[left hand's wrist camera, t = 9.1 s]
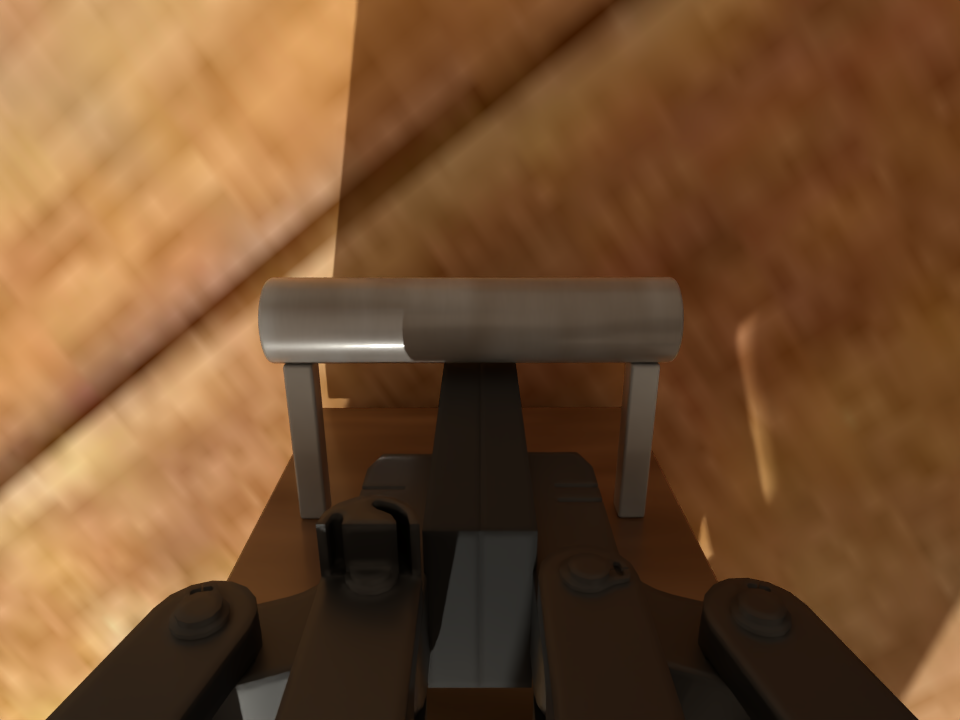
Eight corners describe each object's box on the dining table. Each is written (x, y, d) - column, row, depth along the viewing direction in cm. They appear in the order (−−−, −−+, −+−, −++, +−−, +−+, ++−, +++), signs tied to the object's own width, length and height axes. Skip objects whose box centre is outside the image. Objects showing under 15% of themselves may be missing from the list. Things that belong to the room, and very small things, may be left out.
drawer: (298, 228, 18) (149, 335, 10) (646, 228, 18) (789, 334, 10) (355, 805, 26) (301, 1127, 18) (594, 804, 26) (648, 1124, 18)
